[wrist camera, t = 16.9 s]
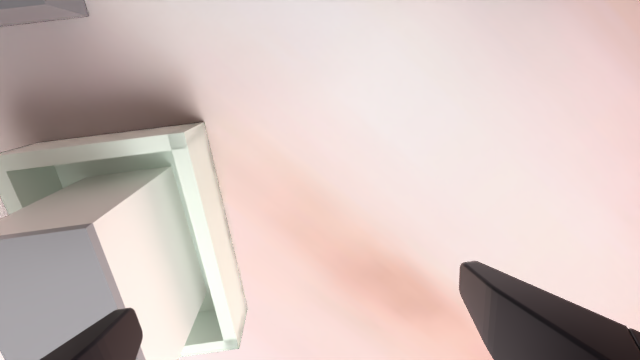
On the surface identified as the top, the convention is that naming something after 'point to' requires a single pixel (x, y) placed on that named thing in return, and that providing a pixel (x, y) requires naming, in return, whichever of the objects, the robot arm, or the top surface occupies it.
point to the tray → (195, 192)
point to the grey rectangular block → (99, 265)
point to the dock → (39, 11)
